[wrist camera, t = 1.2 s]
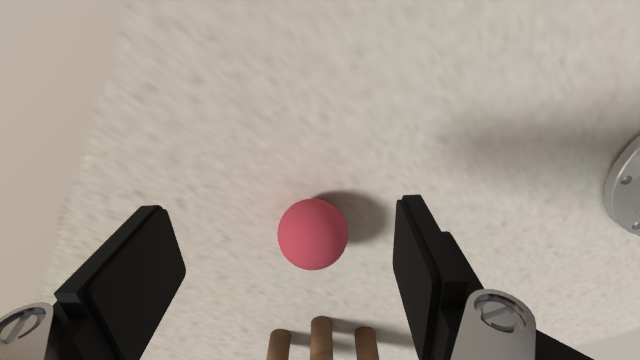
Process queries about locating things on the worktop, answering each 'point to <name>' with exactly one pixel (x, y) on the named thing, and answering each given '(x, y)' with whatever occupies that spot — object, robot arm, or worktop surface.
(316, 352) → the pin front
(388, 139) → the worktop surface
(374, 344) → the pin
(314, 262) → the ball
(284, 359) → the pin
